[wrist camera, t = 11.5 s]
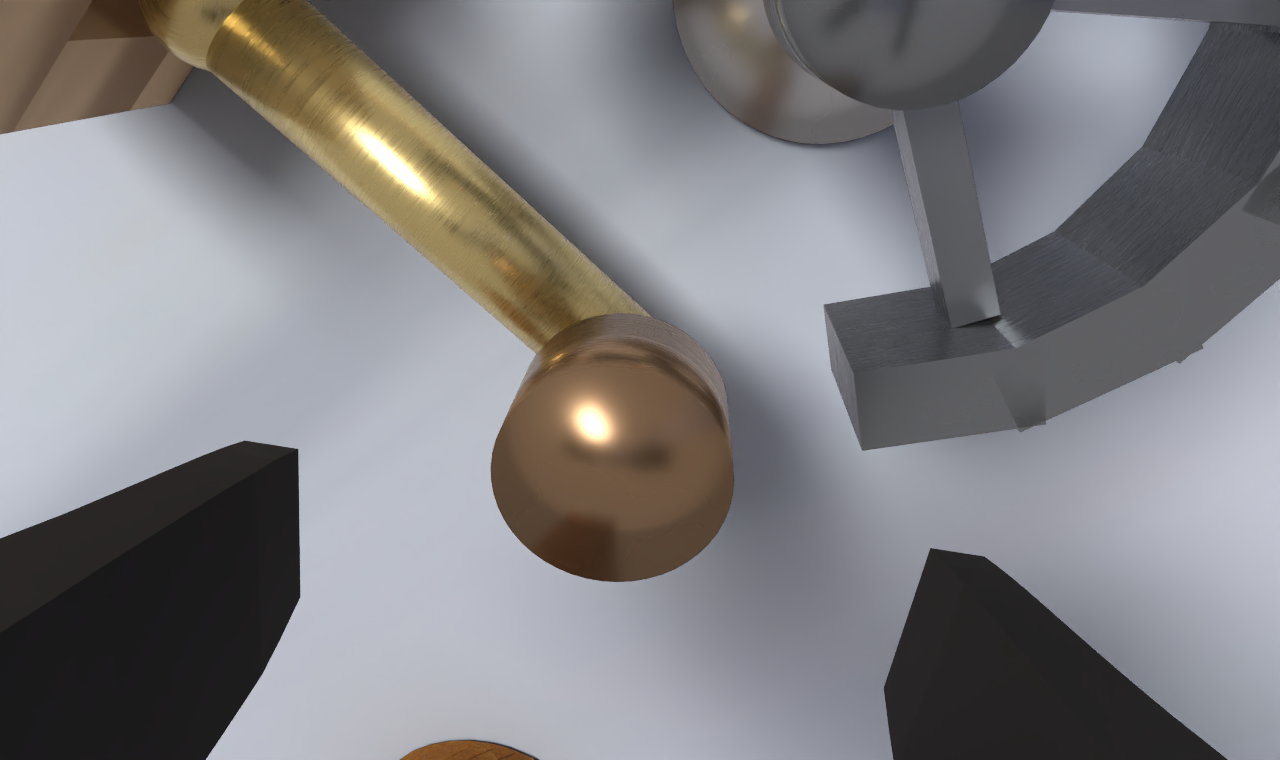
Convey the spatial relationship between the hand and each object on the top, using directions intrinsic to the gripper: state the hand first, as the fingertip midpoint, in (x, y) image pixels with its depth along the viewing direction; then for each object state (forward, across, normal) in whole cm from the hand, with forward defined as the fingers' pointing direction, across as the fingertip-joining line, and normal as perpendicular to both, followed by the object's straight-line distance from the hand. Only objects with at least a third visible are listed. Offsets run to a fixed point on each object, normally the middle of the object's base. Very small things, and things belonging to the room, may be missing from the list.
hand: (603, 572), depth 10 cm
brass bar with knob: (+9, +4, -2) cm, 10 cm away
